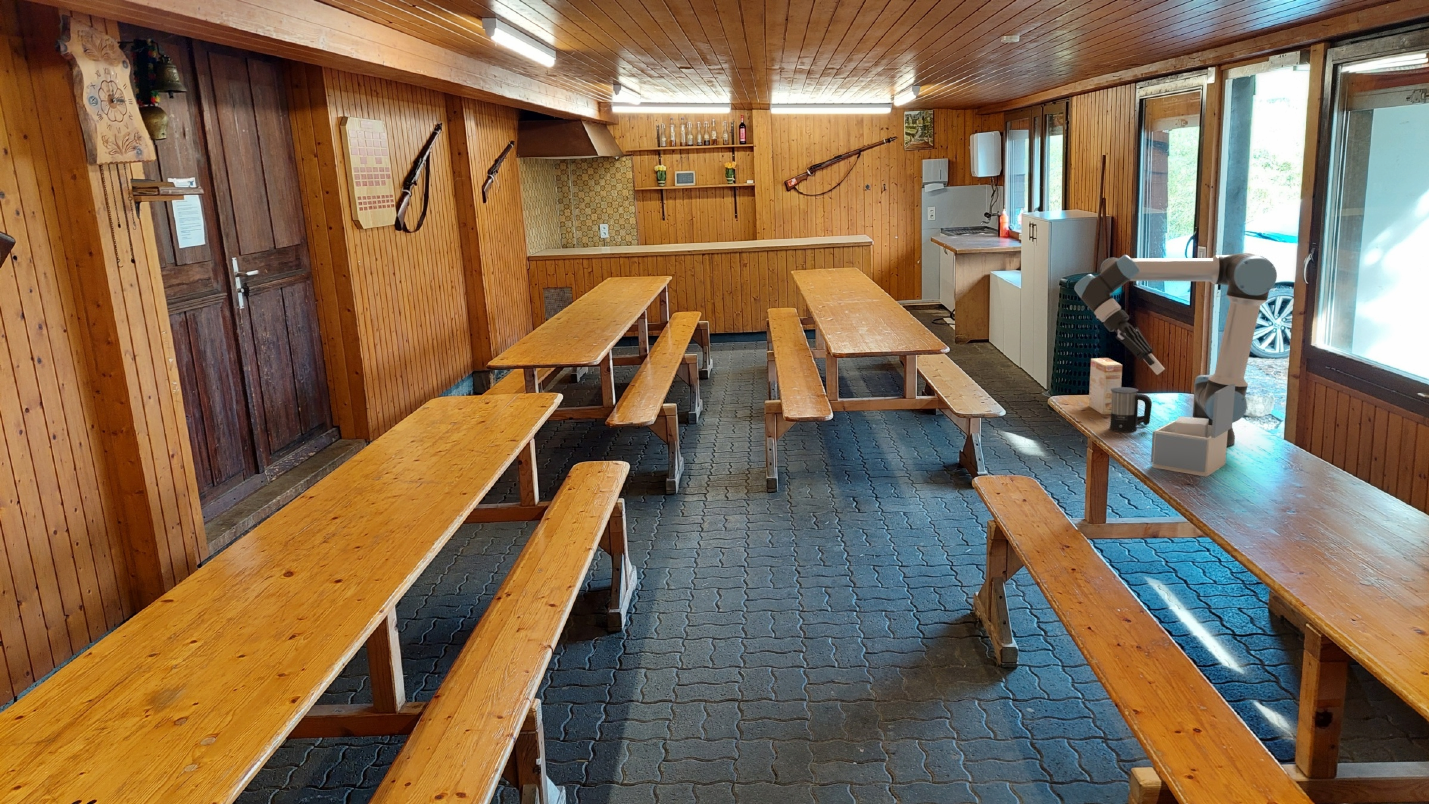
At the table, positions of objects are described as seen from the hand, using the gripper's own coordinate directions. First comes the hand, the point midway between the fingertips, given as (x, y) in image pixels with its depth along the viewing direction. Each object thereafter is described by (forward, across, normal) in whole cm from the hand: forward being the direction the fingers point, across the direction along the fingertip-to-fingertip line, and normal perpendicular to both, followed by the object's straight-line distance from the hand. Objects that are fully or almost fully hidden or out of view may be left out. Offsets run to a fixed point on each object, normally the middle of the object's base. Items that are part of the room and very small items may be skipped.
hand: (1160, 371), depth 312 cm
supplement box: (+28, 0, -13) cm, 31 cm away
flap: (+26, 0, +2) cm, 26 cm away
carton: (+28, 0, -13) cm, 31 cm away
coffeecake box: (-9, -56, -51) cm, 76 cm away
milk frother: (+4, -36, -38) cm, 52 cm away
